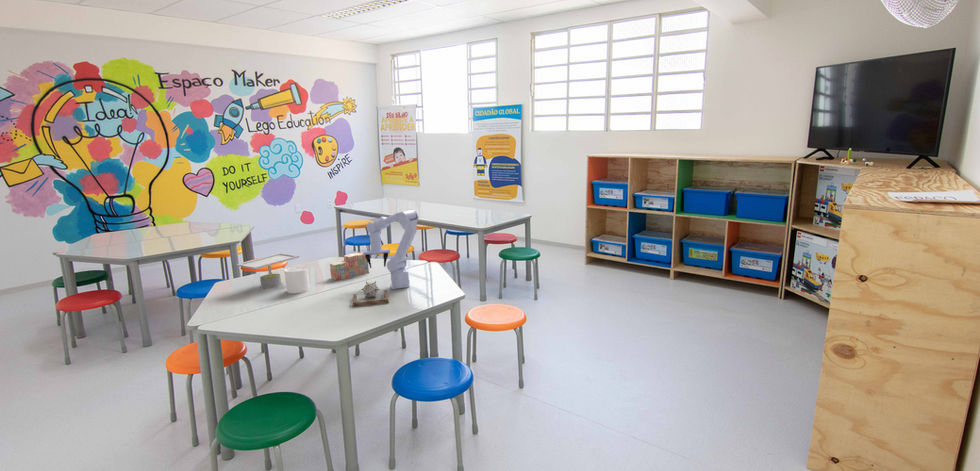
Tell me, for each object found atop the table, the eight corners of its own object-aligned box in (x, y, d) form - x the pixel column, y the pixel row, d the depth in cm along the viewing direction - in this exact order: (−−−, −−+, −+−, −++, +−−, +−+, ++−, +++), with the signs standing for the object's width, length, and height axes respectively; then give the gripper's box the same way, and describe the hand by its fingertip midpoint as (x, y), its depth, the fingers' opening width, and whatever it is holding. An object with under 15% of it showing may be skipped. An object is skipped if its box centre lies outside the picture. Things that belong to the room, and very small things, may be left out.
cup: (295, 286, 278) (292, 265, 276) (314, 287, 276) (311, 266, 273) (282, 293, 267) (279, 271, 265) (302, 294, 265) (299, 272, 262)
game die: (375, 302, 258) (385, 286, 258) (369, 302, 249) (380, 285, 250) (361, 293, 259) (371, 277, 260) (355, 293, 251) (365, 276, 252)
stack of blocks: (335, 280, 287) (333, 260, 284) (331, 278, 291) (328, 258, 289) (369, 272, 301) (367, 253, 298) (364, 271, 305) (362, 251, 303)
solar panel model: (258, 294, 266) (255, 267, 263) (239, 290, 275) (236, 264, 272) (302, 280, 289) (299, 255, 286) (283, 277, 298) (280, 252, 295)
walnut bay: (387, 293, 259) (387, 290, 259) (388, 302, 246) (388, 299, 245) (353, 297, 255) (353, 293, 255) (353, 306, 242) (352, 303, 241)
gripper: (388, 240, 279) (390, 263, 282) (362, 242, 276) (364, 266, 279) (389, 243, 272) (391, 267, 275) (362, 245, 269) (364, 269, 272)
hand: (377, 267), depth 277 cm, fingers open, 7 cm apart
